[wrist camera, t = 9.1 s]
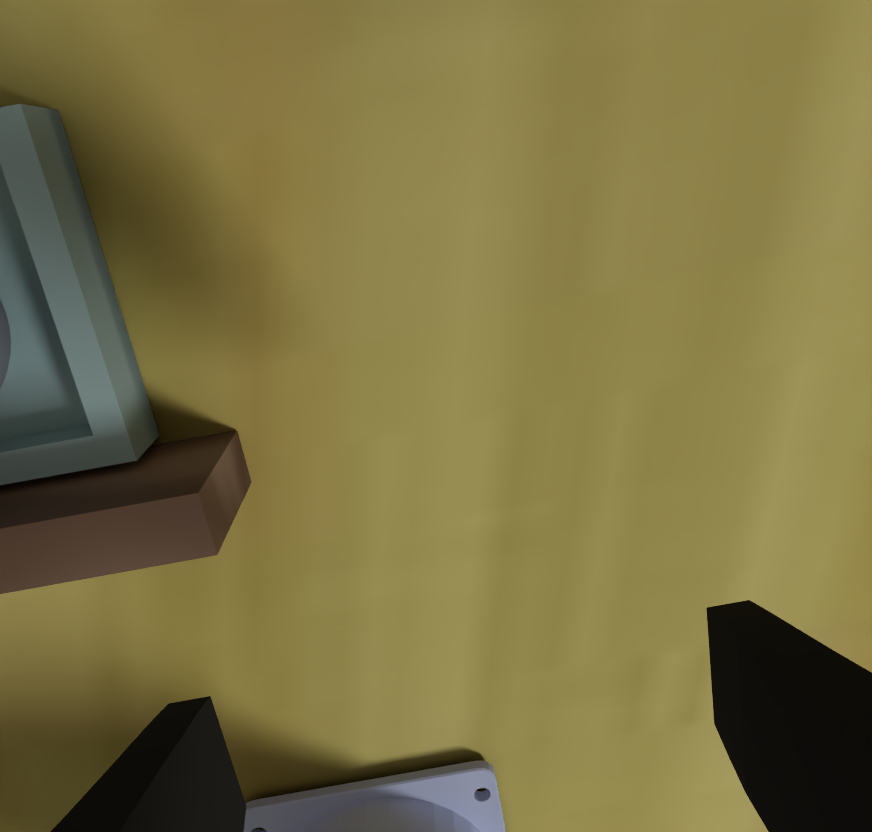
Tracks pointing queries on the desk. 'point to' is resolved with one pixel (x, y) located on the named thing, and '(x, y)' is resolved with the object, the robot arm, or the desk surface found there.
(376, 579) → the desk surface
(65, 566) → the rail
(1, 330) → the ball
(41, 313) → the dish
